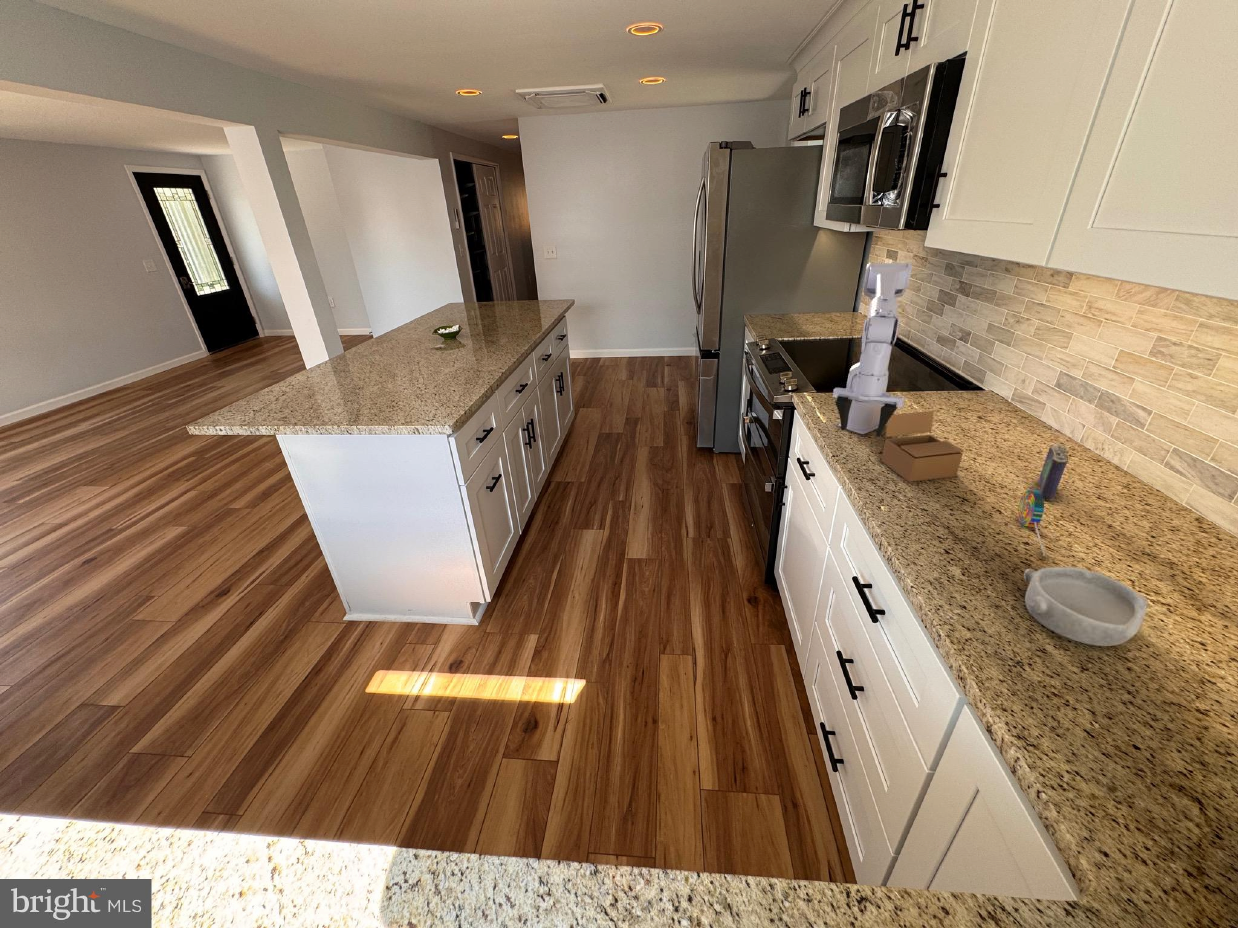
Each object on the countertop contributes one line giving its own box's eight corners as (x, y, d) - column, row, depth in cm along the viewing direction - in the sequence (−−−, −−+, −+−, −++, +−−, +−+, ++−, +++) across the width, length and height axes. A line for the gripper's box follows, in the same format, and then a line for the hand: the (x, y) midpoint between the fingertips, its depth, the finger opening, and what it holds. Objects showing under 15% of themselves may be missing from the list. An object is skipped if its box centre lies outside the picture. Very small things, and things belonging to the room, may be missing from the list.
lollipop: (1031, 566, 94) (1015, 506, 104) (1040, 567, 93) (1023, 507, 103) (1048, 543, 89) (1029, 482, 99) (1058, 544, 89) (1038, 483, 98)
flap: (886, 436, 123) (885, 436, 123) (931, 432, 124) (930, 431, 124) (888, 415, 121) (887, 415, 122) (933, 411, 122) (932, 410, 123)
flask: (1036, 480, 115) (1052, 436, 110) (1052, 483, 113) (1069, 439, 108) (1039, 498, 108) (1056, 453, 103) (1056, 502, 106) (1075, 456, 101)
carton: (880, 460, 126) (886, 436, 123) (924, 455, 127) (930, 431, 124) (909, 481, 116) (915, 455, 113) (956, 476, 118) (963, 450, 115)
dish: (1137, 612, 79) (1151, 587, 76) (1137, 668, 70) (1153, 642, 67) (1022, 574, 87) (1032, 550, 85) (1009, 619, 78) (1019, 595, 76)
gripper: (832, 372, 113) (823, 430, 118) (904, 381, 104) (890, 443, 110) (842, 367, 118) (833, 423, 123) (911, 375, 110) (898, 435, 115)
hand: (860, 432), depth 117 cm, fingers open, 7 cm apart
